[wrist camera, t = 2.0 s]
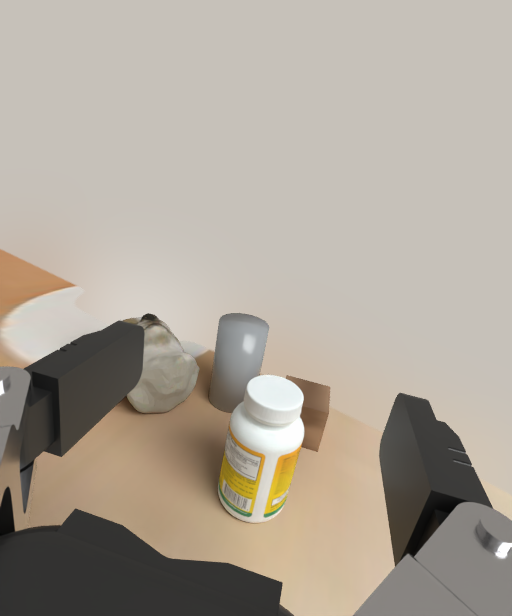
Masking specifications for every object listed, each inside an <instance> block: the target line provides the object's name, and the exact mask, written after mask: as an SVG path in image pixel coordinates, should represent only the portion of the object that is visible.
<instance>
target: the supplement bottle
mask: <svg viewBox="0 0 512 616" xmlns="http://www.w3.org/2000/svg"><path fill="white" fill-rule="evenodd" d="M303 401H304V396H303V393H302V391H301V390H300V388H299V387H298V386H297V385H296V384H294V383H293V382H291V381H290V380H288V379H285V378H283V377H279V376H274V375H261V376H257V377H254V378H253V379H251V380H250V381H249V382H248V384H247V387H246V391H245V396H244V401H243V402H241V403H240V404H239V405H238V406H237V407H236V408H235V409H234V411H233V413H232V415H231V418H230V423H229V428H228V433H227V439H226V444H225V450H224V456H223V461H222V466H221V472H220V476H219V483H218V494H219V498H220V500H221V502H222V504H223V506H224V507H225V509H226V510H227V511H228V512H229V513H230V514H231V515H233V516H234V517H236V518H238V519H240V520H242V521H245V522H250V523H261V522H265V521H268V520H270V519H272V518H273V517H275V516H276V515H277V514H278V513H279V512H280V511H281V510H282V508H283V506H284V504H285V501H286V498H287V494H288V491H289V487H290V484H291V480H292V476H293V473H294V470H295V466H296V463H297V459H298V455H299V452H300V449H301V445H302V442H303V438H304V425H303V422H302V420H301V418H300V414H301V409H302V405H303Z"/></svg>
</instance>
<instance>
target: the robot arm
mask: <svg viewBox="0 0 512 616" xmlns="http://www.w3.org/2000/svg"><path fill="white" fill-rule="evenodd" d="M144 336H145V332H144V328H143V327H142V326H140V325H136V324H132V323H128V322H124V321H117V322H115V323H113V324H112V325H110V326H108V327H107V328H105V329H103V330H101V331H97V332H94V333H90V334H87V335H83V336H81V337H80V338H78V339H76V340H74V341H72V342H71V343H70V344H67V345H65V346H63V347H62V348H60V350H56V351H55V352H53V353H51V354H49V355H47V356H46V357H44V358H42V359H40V360H38V361H37V362H35V363H33V364H31V365H29V366H28V367H26V368H24V369H21V368H17V367H0V616H294V615H293V614H292V613H291V612H289V611H288V610H287V609H285V608H284V607H283V606H281V605H280V604H279V603H280V597H281V590H282V582H279V581H277V580H274V579H271V578H268V577H265V576H263V575H260V574H257V573H254V572H251V571H249V570H246V569H243V568H240V567H237V566H235V565H232V564H229V563H221V562H207V561H194V560H181V559H171V558H167V557H165V556H163V555H162V554H160V553H159V552H158V551H156V550H155V549H154V548H152V547H151V546H150V545H148V544H147V543H145V542H144V541H143V540H141V539H140V538H139V537H137V536H136V535H135V534H133V533H132V532H131V531H129V530H128V529H127V528H125V527H124V526H123V525H120V524H117V523H115V522H112V521H109V520H106V519H103V518H101V517H98V516H95V515H92V514H89V513H87V512H84V511H81V510H78V509H75V510H74V511H73V512H72V513H71V514H70V516H69V517H68V518H67V519H66V520H65V522H64V523H63V524H62V525H61V526H60V525H53V526H40V527H33V528H28V522H29V515H30V509H31V502H32V496H33V489H34V482H35V476H36V469H37V459H36V457H37V456H39V455H40V454H41V453H42V452H43V451H45V452H48V453H51V454H54V455H57V456H60V457H62V456H63V455H64V454H65V453H66V452H67V451H68V450H69V449H71V448H72V447H73V446H74V445H75V444H76V443H77V442H78V441H79V440H80V439H81V438H82V437H83V436H84V435H85V434H86V433H87V432H88V431H89V430H90V429H92V428H93V427H94V426H95V425H96V424H97V423H98V422H99V421H100V420H101V419H102V418H103V417H104V416H105V415H106V414H107V413H108V412H109V411H110V410H112V409H113V408H114V407H115V406H116V405H117V404H118V403H119V402H120V401H121V400H122V399H123V398H124V397H125V396H126V395H127V394H128V393H129V392H130V391H132V390H133V389H134V388H135V386H136V385H137V384H138V382H139V380H140V378H141V375H142V370H143V354H144ZM465 452H466V451H465V449H464V447H463V445H462V443H461V441H460V439H459V437H458V436H457V435H456V433H454V431H453V430H452V429H450V427H449V426H448V425H447V424H446V423H445V422H441V421H437V420H436V418H435V415H434V413H433V410H432V408H431V406H430V403H429V401H428V400H426V399H422V398H418V397H414V396H410V395H406V394H403V393H399V394H398V395H397V397H396V399H395V402H394V405H393V407H392V410H391V413H390V416H389V419H388V422H387V424H386V427H385V430H384V433H383V435H382V439H381V443H380V452H379V458H380V465H381V472H382V479H383V486H384V493H385V500H386V507H387V514H388V521H389V528H390V535H391V542H392V548H393V555H394V562H395V568H394V569H393V570H392V571H391V572H390V574H389V575H388V576H387V577H386V578H385V579H384V580H383V582H382V583H381V584H380V585H379V586H378V587H377V588H376V590H375V591H374V592H373V593H372V594H371V595H370V597H369V598H368V599H367V600H366V601H365V602H364V603H363V605H362V606H361V607H360V608H359V609H358V610H357V611H356V613H355V614H354V615H353V616H512V521H511V520H510V519H509V518H507V517H506V516H504V515H503V514H501V513H500V512H498V511H496V510H494V509H493V507H492V505H491V503H490V501H489V499H488V497H487V495H486V493H485V490H484V488H483V486H482V484H481V482H480V480H479V478H478V476H477V474H476V472H475V470H474V468H473V467H471V465H472V464H471V461H470V459H469V457H468V455H467V454H465Z"/></svg>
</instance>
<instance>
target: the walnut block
mask: <svg viewBox="0 0 512 616" xmlns="http://www.w3.org/2000/svg"><path fill="white" fill-rule="evenodd" d="M286 379H288V380H290V381H291V382H293V383H294V384H296V385H297V386H298V387H299V388H300V390H301V391H302V393H303V396H304V401H303V405H302V409H301V414H300V418H301V420H302V422H303V425H304V438H303V442H302V445H301V447H303V448H306V449H310V450H313V451H316V452H318V448H319V445H320V442H321V438H322V435H323V431H324V428H325V424H326V421H327V418H328V414H329V400H330V387H328V386H325V385H321V384H318V383H314V382H310V381H306V380H303V379H299V378H295V377H291V376H288V375H287V376H286Z"/></svg>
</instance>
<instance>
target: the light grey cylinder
mask: <svg viewBox="0 0 512 616" xmlns="http://www.w3.org/2000/svg"><path fill="white" fill-rule="evenodd" d="M268 330H269V325H268V324H267V323H266V322H265V321H264V320H262V319H260V318H258V317H255V316H252V315H248V314H241V313H231V314H226V315H223V316H222V317H221V318H220V320H219V326H218V334H217V341H216V347H215V354H214V361H213V368H212V375H211V382H210V390H209V401H210V402H211V404H212V405H213V406H214V407H216V408H217V409H219V410H221V411H224V412H228V413H233V411H234V409H235V408H236V407H237V406H238V405H239V404H240V403H241V402H243V401H244V396H245V391H246V387H247V384H248V382H249V381H250V380H251V379H253V378H254V377H257V376H260V371H261V366H262V360H263V355H264V351H265V346H266V341H267V336H268Z"/></svg>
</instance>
